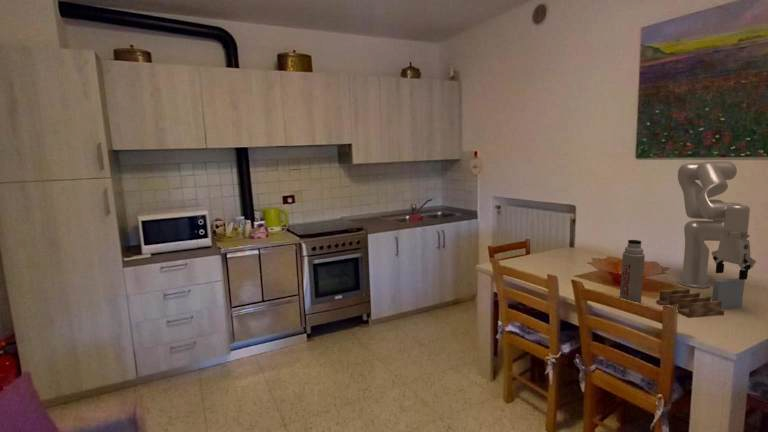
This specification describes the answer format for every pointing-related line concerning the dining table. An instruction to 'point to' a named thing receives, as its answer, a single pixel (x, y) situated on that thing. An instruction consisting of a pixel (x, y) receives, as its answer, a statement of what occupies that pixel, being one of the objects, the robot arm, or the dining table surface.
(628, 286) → the thermos bottle
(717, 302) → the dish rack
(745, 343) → the dining table surface
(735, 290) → the grey square block
